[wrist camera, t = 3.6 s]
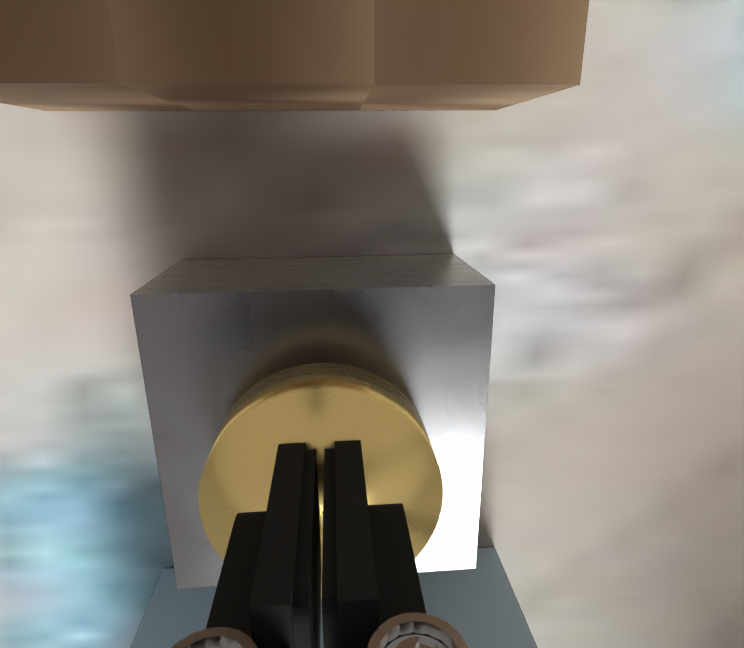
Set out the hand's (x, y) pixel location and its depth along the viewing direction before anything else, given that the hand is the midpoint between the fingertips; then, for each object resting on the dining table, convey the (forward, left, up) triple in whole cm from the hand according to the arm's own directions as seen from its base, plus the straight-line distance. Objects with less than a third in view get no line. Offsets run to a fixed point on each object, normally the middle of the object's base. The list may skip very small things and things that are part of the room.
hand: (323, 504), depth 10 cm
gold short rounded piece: (0, 0, -4) cm, 4 cm away
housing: (0, 0, -6) cm, 6 cm away
